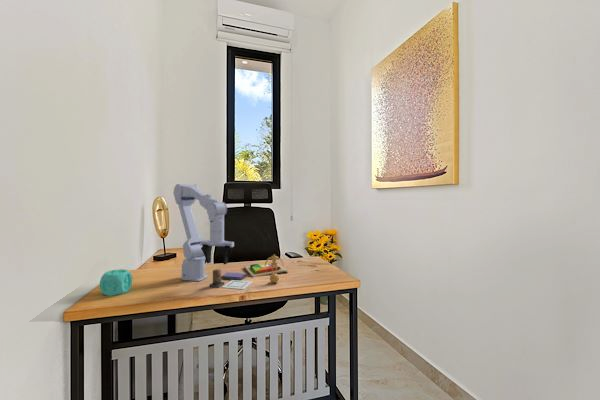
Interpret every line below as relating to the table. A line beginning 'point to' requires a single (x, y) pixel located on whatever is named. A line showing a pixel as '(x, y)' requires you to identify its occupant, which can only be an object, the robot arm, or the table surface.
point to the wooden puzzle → (263, 269)
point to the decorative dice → (116, 282)
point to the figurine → (275, 277)
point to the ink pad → (234, 276)
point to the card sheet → (237, 284)
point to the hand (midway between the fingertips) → (217, 263)
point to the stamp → (216, 279)
